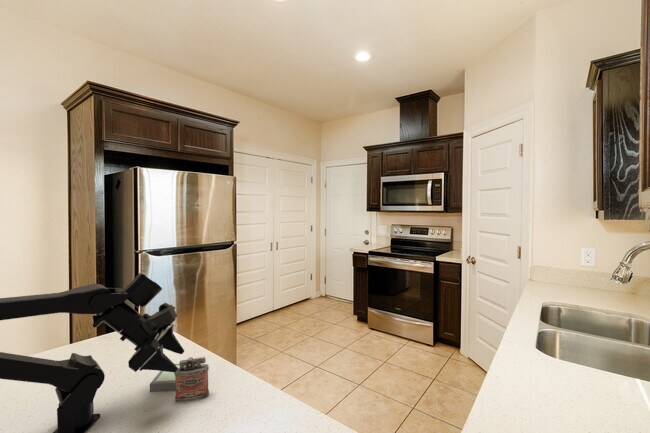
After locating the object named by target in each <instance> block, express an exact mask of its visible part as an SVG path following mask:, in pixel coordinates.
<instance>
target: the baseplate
mask: <svg viewBox="0 0 650 433" xmlns="http://www.w3.org/2000/svg"><path fill="white" fill-rule="evenodd" d="M174 364H175V365H176V366H177V368H180V366H179V363H174ZM196 365H197V364H196ZM184 367H185V366H184ZM165 391H176V388H175V375H174V372H166V371H159V372H158V373H157V374H156V376H155V377H154V378H153V379H152V381H151V382H150V383H149V392H165Z"/></svg>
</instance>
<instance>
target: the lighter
mask: <svg viewBox="0 0 650 433" xmlns="http://www.w3.org/2000/svg"><path fill="white" fill-rule="evenodd" d="M206 359H207V358H206V357H205V356H202V357H195V358H194V357H188V358H187V359H183V360H179V363H178V364H179V366H180V368H178V370H177V371H176V372H174V375H175V388H176V390H175V396H174V401H175V403H186V402H187V403H189V402H194V401H199V400H202V399H203V400H204V399H206V398H208V397H209V395H210V390H209V368H210V367H209V364H207V363H206V361H207V360H206ZM196 364H197V365H196ZM184 366H185V367H184Z"/></svg>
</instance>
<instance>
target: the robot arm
mask: <svg viewBox="0 0 650 433" xmlns="http://www.w3.org/2000/svg"><path fill="white" fill-rule="evenodd" d="M162 290H163V288H162V287H161V286H160V285H159V284H158V282H156V281H154V280H152V279H151V278H149V277H148V276H147V275H145V274H144V273H141V272H139V273H138V274H137V275H136V277H134V279H133V280H132V281H131V282H130V283H129V284H128V285H126V286H125V287H124V288H123V289H122V288H120V287H105V286H104V285H103V284H100V283H90V284H87V285H82V286H77V287H73V288H70V289H68V290H65V291H61V292H52V293H43V294H31V295H20V296H11V297H10V296H9V297H0V321H6V320H14V319H22V318H30V317H36V316H43V315H44V316H46V315H52V314H53V315H54V314H64V313H65V314H75V315H93V316H91V317H92V320H93V323H92V327H93V328H96V327H97V328H98V327H99V326H100V325H101V324H102V323H104V324H106V325H107V326H109V327H110V328H111V329H113V330H114V331H115V332H116V333H118V334H119V335H121V337H120V338H119V340H121V342H124V341H125V340H127V341H129V342H130V343H131V344H133V345H134V346H135V348H134V350H135V352H134V353H133V354H132V356H131V357H130V358H129V360H128V368H129V369H130V370H131V371H134V373H136V372H138V371H140V372H142V371H143V370H145V371H157V372H158V371H159V372H160V371H166V372H176V371H177V370H178V368H177V366H176V365H175V364H176V363H174V362H173V360H171V359H170V358H169V357H168V356H167V355H166V354H165V353H164V350H167V351H169V352H172V353H175V354H178V355H182V354H184V353H185V349H184V348H183V346H182V345H181V343H180V342H179V340H178V338H177V337H176V335H175V334H174V322H175V321H176V318H177V317H178V314H177V312H176V306H173V305H172V304H169V303H167V302H164V303H162V304H160V305H159V307H158V311H156V312H155V313H154V314H152V315H149V313H143V314H141V313H139V311H137V310H136V309H134V308H133V307H132V306H130V304H128V303H127V302H126V301H128V302H129V303H131V304H132V305H133V306H134V307H136V308H137V309H138V308H140V307H141V308H143V307H144V308H145V307H146V306H147V305H148V304H149V303H150V302H152V300H153V299H155V297H156V296H157V295H158V294H159V293H160V292H162ZM105 377H106V376H105V372H104V371H103V369H102V367H101V366H100V365H99V363H98V362H97V360H95V359H94V358H93V357H92V355H81V354H79V353H75V352H72V353H71V354H70V357H69V358H67V359H63V360H55V359H54V360H53V359H48V358H41V357H35V356H29V355H21V354H16V353H9V352H3V351H0V380H6V381H7V380H8V381H16V382H27V383H34V384H45V385H49V386H50V385H51V386H53V387H54V388H55V389H54V391H55V394H56V397H57V399H58V402H59V403H58V405H57V406H58V407H57V408H56V418H57V419H56V420H57V423H56V424H57V427H56V429H55V430H54V431H53V432H52V433H86V432H87V431H89V430H90V428H91V427H92V426H93V425H94V424H95V422H97V420H98V419H99V418H100V417H101V413H94V412H95V411H94V399H95V397H96V394H97V391H98V390H99V389H100V388H101V386H102V385H103V384H104V381H105Z"/></svg>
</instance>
